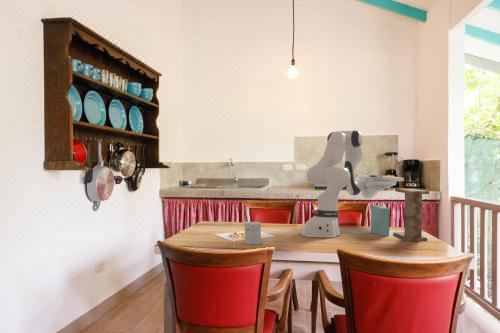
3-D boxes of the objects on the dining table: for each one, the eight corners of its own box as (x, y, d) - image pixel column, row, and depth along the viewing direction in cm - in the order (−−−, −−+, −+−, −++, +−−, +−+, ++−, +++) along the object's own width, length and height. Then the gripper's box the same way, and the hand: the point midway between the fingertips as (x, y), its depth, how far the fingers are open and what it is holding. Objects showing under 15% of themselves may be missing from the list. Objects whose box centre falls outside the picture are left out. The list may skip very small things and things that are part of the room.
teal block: (380, 235, 183) (380, 208, 183) (370, 231, 195) (371, 205, 195) (389, 235, 184) (389, 208, 183) (378, 231, 196) (379, 205, 195)
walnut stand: (409, 242, 169) (410, 191, 168) (393, 235, 185) (393, 188, 184) (429, 241, 170) (430, 191, 170) (411, 234, 186) (412, 188, 185)
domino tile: (397, 181, 187) (397, 177, 187) (378, 178, 209) (378, 175, 209) (403, 181, 188) (403, 177, 188) (384, 178, 210) (384, 175, 210)
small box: (260, 241, 170) (261, 221, 170) (260, 244, 164) (260, 223, 164) (245, 241, 170) (245, 221, 170) (244, 244, 165) (244, 223, 165)
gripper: (360, 181, 217) (368, 171, 205) (389, 180, 219) (399, 171, 207) (362, 189, 214) (370, 180, 202) (391, 189, 216) (401, 180, 204)
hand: (385, 175), depth 205 cm, fingers closed on domino tile, 4 cm apart
